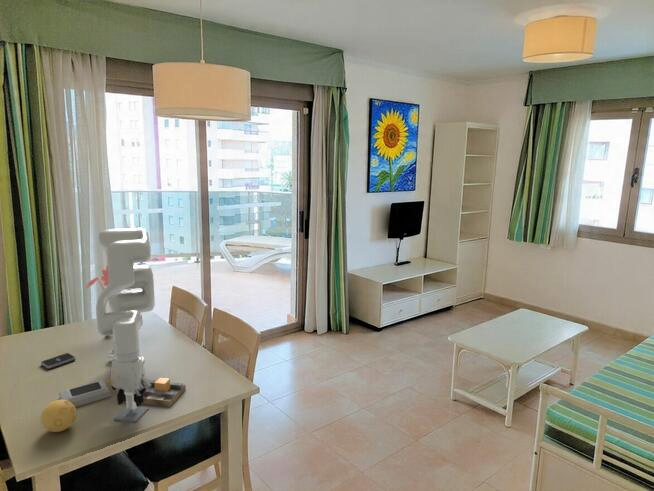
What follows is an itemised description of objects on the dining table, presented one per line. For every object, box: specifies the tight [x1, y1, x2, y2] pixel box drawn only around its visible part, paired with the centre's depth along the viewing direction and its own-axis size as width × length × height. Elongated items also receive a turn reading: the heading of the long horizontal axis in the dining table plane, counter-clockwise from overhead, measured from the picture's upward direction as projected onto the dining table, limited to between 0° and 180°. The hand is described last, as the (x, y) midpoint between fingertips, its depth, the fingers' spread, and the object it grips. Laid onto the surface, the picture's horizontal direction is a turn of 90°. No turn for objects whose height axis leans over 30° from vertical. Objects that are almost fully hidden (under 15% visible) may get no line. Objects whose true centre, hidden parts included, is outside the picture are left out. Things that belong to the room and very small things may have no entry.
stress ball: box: [40, 398, 77, 433], centre depth 144 cm, size 10×10×10 cm
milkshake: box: [123, 389, 138, 415], centre depth 154 cm, size 4×5×10 cm
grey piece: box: [124, 379, 187, 407], centre depth 167 cm, size 20×12×4 cm, turn 81°
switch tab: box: [154, 377, 171, 391], centre depth 165 cm, size 4×4×4 cm
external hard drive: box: [40, 352, 76, 371], centre depth 189 cm, size 7×11×2 cm, turn 144°
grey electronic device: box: [58, 379, 112, 408], centre depth 164 cm, size 10×4×15 cm
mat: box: [113, 405, 150, 423], centre depth 154 cm, size 8×8×1 cm
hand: (130, 403), depth 154 cm, fingers open, 6 cm apart
